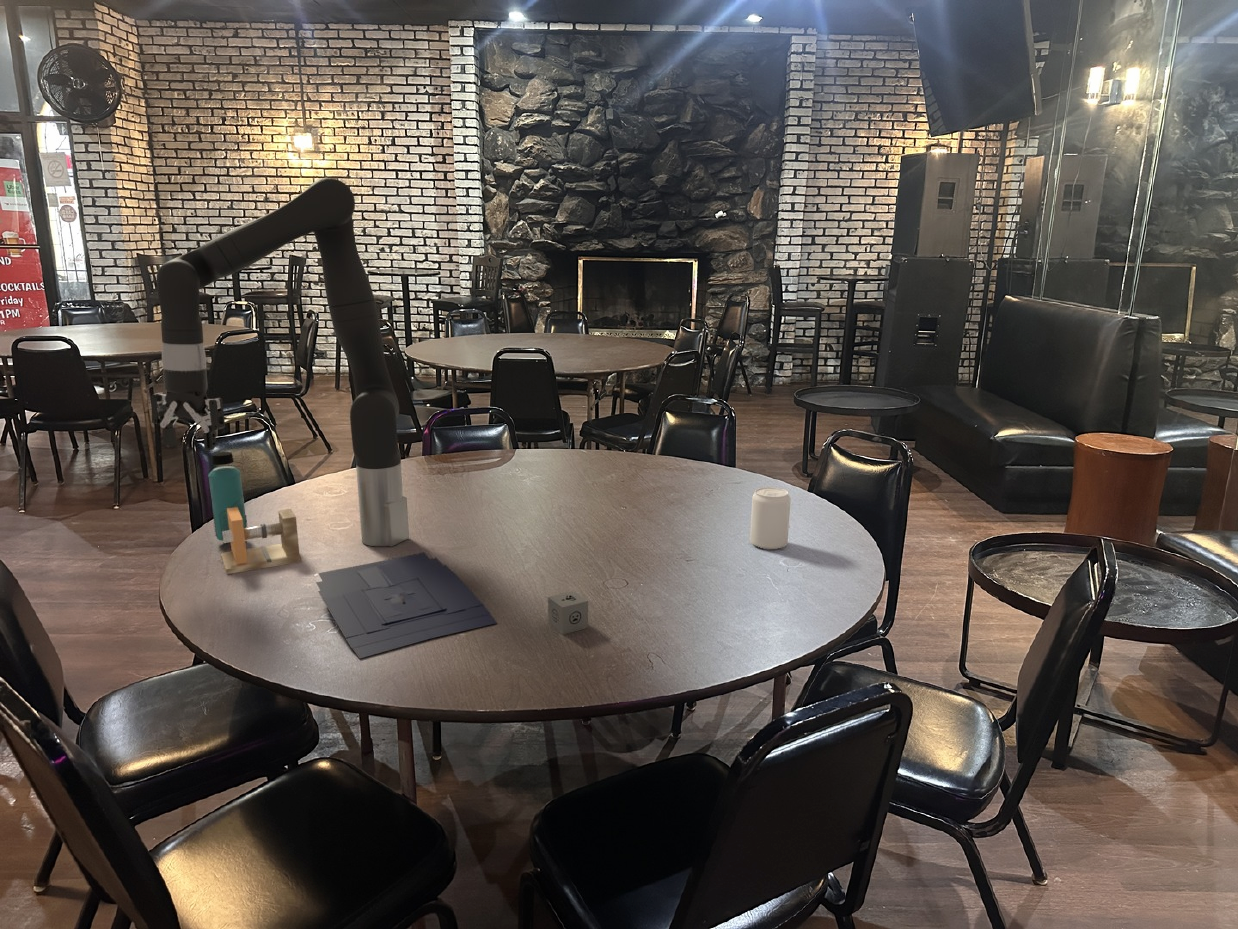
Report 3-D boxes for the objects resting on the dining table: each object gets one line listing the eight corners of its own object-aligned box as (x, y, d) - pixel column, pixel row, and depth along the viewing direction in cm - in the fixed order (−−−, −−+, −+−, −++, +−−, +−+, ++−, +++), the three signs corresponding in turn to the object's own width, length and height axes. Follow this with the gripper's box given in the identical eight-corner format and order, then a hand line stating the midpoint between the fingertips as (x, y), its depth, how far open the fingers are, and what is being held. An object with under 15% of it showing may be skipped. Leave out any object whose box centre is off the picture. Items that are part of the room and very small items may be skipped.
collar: (236, 564, 165) (231, 521, 163) (231, 550, 173) (226, 508, 170) (247, 562, 166) (242, 519, 164) (242, 548, 174) (237, 506, 171)
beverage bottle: (236, 549, 178) (226, 457, 172) (209, 546, 179) (197, 455, 174) (255, 538, 184) (246, 450, 179) (228, 536, 185) (218, 448, 180)
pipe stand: (226, 574, 164) (221, 530, 162) (221, 557, 173) (216, 516, 170) (301, 561, 171) (297, 519, 169) (293, 546, 179) (289, 506, 177)
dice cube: (588, 627, 143) (588, 600, 142) (562, 635, 141) (562, 607, 139) (573, 617, 147) (573, 590, 146) (548, 623, 145) (547, 597, 143)
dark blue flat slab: (433, 562, 168) (433, 546, 167) (498, 636, 145) (499, 618, 144) (308, 588, 155) (307, 571, 154) (358, 673, 132) (357, 654, 131)
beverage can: (791, 541, 185) (794, 489, 182) (782, 553, 178) (785, 499, 175) (755, 536, 188) (758, 484, 185) (745, 547, 181) (748, 494, 178)
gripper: (230, 366, 164) (234, 447, 168) (165, 360, 166) (171, 440, 170) (204, 371, 157) (210, 456, 161) (137, 365, 159) (144, 448, 163)
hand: (190, 448), depth 166 cm, fingers open, 8 cm apart
